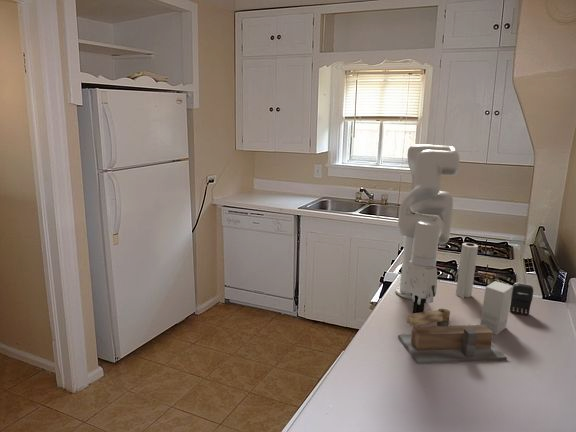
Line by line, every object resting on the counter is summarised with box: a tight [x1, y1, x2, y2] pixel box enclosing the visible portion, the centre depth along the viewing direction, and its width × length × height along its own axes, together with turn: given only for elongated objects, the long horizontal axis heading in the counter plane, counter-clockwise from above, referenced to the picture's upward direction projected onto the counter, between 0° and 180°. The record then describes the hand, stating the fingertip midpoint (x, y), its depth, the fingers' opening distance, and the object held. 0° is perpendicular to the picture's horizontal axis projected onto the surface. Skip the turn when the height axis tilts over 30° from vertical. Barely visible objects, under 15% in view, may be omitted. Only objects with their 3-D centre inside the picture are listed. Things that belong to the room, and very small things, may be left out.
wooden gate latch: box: [397, 320, 508, 364], centre depth 145 cm, size 16×28×9 cm, turn 98°
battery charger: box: [509, 282, 534, 316], centre depth 173 cm, size 7×4×11 cm, turn 67°
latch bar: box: [406, 308, 451, 327], centre depth 148 cm, size 15×4×3 cm, turn 111°
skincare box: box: [479, 280, 513, 335], centre depth 159 cm, size 8×7×16 cm
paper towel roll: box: [455, 242, 479, 299], centre depth 187 cm, size 7×6×21 cm
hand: (417, 314), depth 150 cm, fingers closed
